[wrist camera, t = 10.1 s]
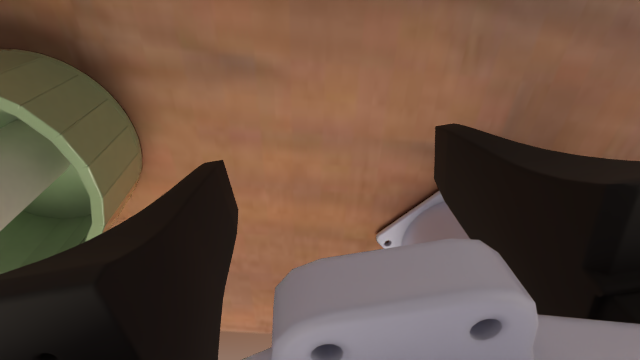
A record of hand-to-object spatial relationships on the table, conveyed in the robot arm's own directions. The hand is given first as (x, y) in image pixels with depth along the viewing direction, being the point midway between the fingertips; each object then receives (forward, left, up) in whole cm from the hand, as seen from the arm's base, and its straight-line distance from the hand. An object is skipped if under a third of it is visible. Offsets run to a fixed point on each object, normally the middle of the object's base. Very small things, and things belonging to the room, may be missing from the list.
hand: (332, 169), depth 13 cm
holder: (+8, +14, -10) cm, 19 cm away
